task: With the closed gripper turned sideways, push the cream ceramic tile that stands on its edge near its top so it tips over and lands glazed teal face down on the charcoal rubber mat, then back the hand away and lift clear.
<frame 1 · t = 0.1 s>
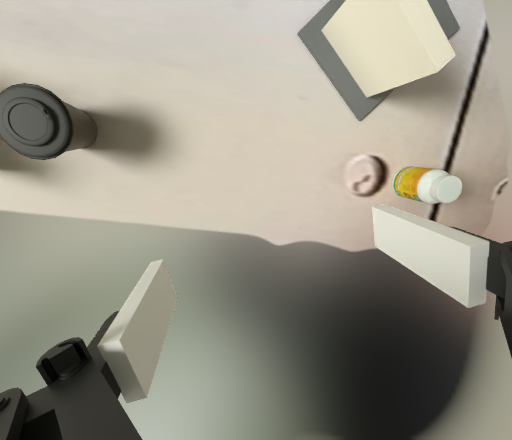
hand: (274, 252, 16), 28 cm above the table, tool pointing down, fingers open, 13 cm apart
supplement bottle: (403, 181, 46), on the table
mat: (379, 31, 38), on the table
tile: (350, 59, 38), resting on mat
coffee cup: (78, 129, 37), on the table
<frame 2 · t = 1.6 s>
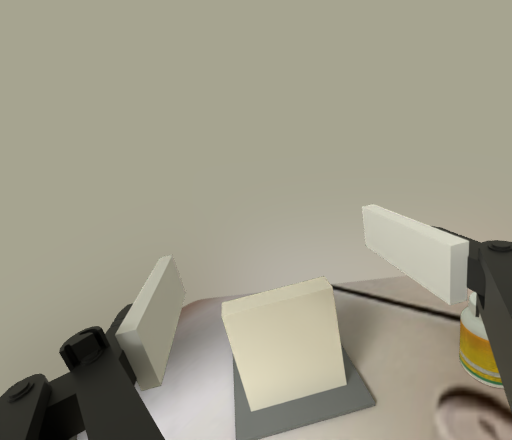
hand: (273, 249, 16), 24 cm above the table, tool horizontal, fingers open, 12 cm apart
supplement bottle: (488, 370, 30), on the table
mat: (286, 354, 38), on the table
tile: (296, 389, 32), resting on mat
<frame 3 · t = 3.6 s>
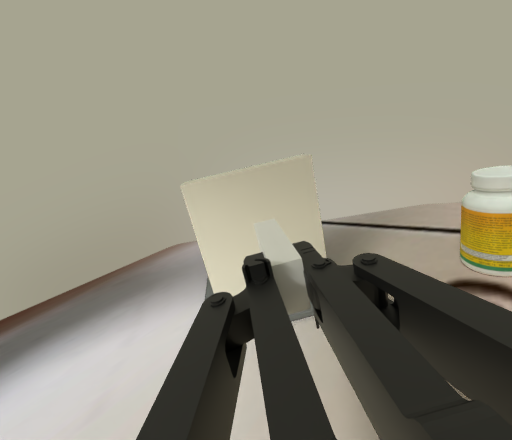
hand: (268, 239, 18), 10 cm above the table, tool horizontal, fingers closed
supplement bottle: (493, 265, 26), on the table
tile: (274, 295, 28), resting on mat
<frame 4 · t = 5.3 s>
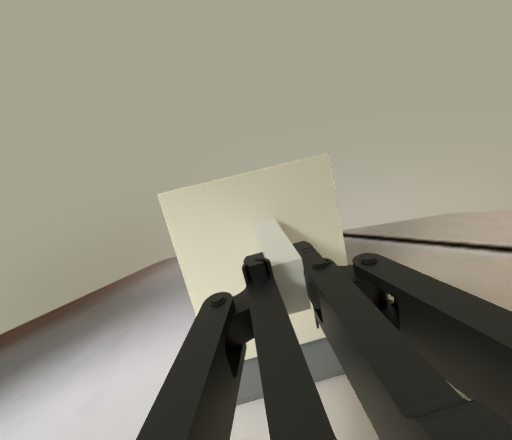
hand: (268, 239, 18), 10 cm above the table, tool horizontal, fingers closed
mat: (271, 302, 27), on the table
tile: (283, 338, 21), point 1 cm above the table, tilted 5°, touching gripper, mat
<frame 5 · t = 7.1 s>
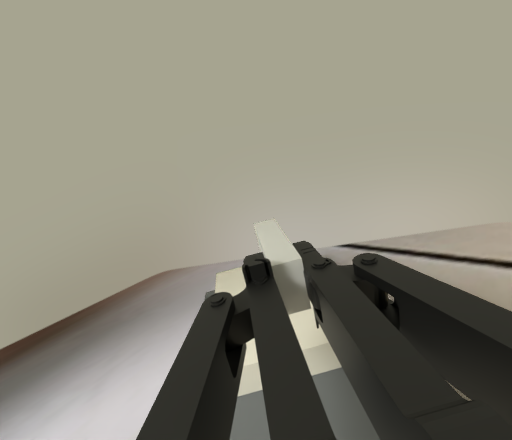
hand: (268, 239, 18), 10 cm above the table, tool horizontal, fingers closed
mat: (288, 337, 22), on the table
tile: (300, 364, 17), point 2 cm above the table, tilted 90°, touching mat
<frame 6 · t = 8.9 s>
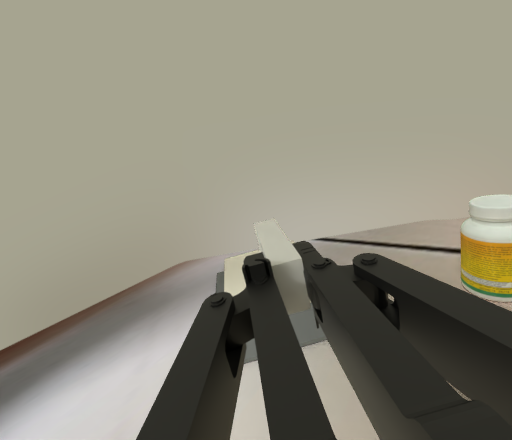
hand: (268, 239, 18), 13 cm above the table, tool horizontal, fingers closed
supplement bottle: (493, 289, 26), on the table
mat: (272, 294, 35), on the table
tile: (276, 303, 30), point 2 cm above the table, tilted 90°, touching mat
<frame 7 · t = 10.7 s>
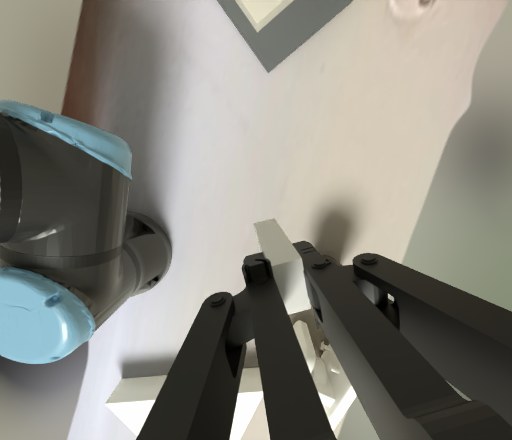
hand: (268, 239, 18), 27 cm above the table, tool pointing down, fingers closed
cable organizer: (305, 350, 51), on the table
triangle block: (203, 420, 55), on the table
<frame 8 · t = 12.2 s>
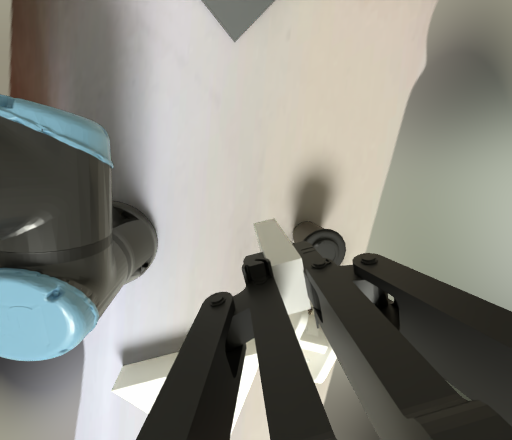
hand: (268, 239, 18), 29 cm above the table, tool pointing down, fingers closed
cable organizer: (295, 310, 55), on the table
triangle block: (208, 389, 59), on the table
coffee cup: (305, 234, 50), on the table
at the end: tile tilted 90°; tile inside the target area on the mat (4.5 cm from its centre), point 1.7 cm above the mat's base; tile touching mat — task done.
